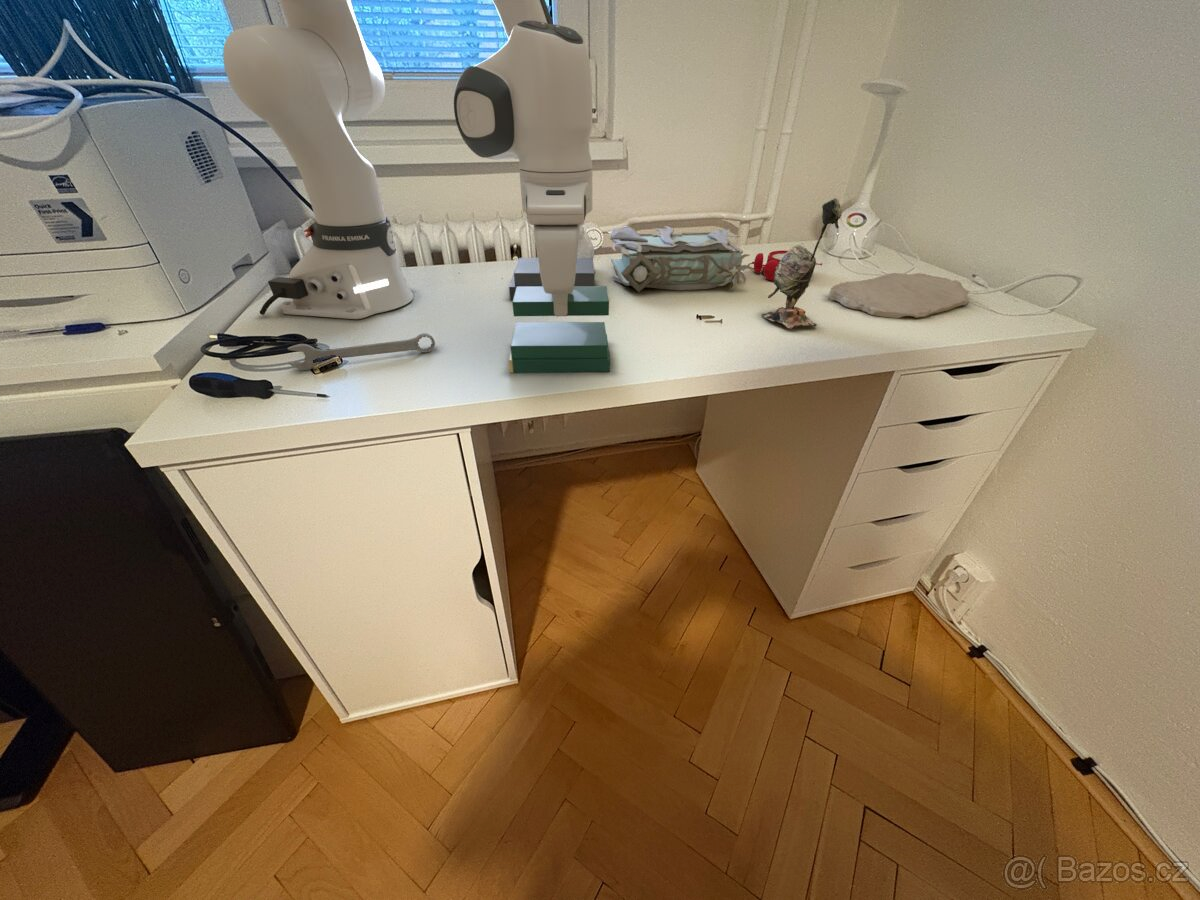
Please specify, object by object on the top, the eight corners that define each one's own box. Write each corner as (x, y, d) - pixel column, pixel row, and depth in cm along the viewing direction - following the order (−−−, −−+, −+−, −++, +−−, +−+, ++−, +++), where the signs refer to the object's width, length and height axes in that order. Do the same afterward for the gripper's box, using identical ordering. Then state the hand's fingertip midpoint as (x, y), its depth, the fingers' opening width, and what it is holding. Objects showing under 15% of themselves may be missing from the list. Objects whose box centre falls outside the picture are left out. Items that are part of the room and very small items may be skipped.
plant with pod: (793, 307, 92) (824, 190, 80) (821, 331, 83) (860, 202, 71) (752, 308, 91) (777, 190, 79) (775, 332, 82) (807, 202, 70)
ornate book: (617, 301, 96) (762, 291, 98) (617, 250, 90) (771, 241, 92) (602, 267, 114) (725, 260, 116) (602, 223, 108) (731, 216, 110)
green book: (513, 316, 65) (512, 302, 64) (517, 300, 71) (516, 286, 69) (608, 315, 66) (609, 301, 65) (606, 299, 71) (606, 285, 70)
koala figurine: (561, 263, 113) (559, 207, 105) (589, 262, 114) (590, 206, 106) (566, 274, 106) (564, 215, 99) (596, 273, 107) (596, 214, 100)
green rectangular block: (510, 372, 69) (507, 347, 67) (515, 346, 76) (513, 321, 74) (609, 371, 70) (610, 346, 67) (606, 345, 77) (606, 321, 74)
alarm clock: (829, 262, 103) (772, 249, 98) (815, 291, 107) (759, 280, 102) (801, 250, 111) (747, 237, 106) (789, 277, 115) (736, 266, 110)
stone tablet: (818, 296, 97) (821, 284, 95) (918, 278, 107) (922, 267, 106) (888, 327, 85) (893, 314, 84) (992, 303, 95) (999, 291, 94)
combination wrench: (432, 328, 73) (282, 344, 67) (433, 331, 72) (281, 347, 66) (436, 351, 75) (291, 368, 69) (437, 354, 74) (290, 372, 68)
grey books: (510, 299, 93) (507, 273, 90) (515, 281, 102) (513, 257, 99) (595, 299, 94) (595, 273, 91) (593, 281, 102) (593, 257, 99)
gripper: (536, 182, 68) (542, 281, 76) (525, 211, 51) (534, 333, 60) (580, 182, 68) (582, 281, 76) (584, 211, 52) (585, 332, 60)
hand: (561, 304), depth 68 cm, fingers closed on green book, 6 cm apart
